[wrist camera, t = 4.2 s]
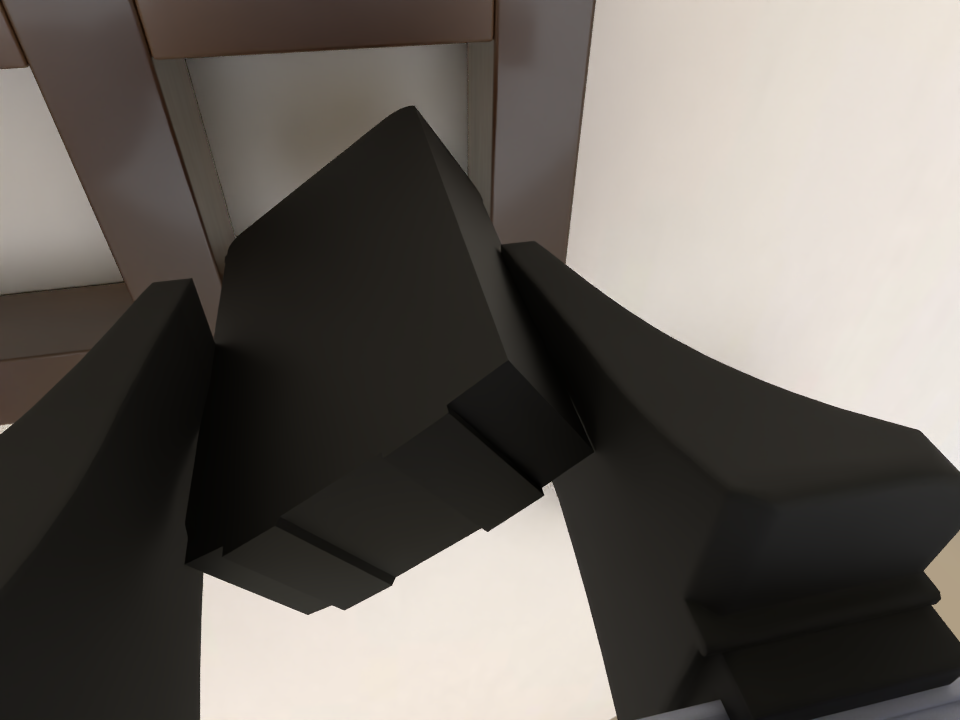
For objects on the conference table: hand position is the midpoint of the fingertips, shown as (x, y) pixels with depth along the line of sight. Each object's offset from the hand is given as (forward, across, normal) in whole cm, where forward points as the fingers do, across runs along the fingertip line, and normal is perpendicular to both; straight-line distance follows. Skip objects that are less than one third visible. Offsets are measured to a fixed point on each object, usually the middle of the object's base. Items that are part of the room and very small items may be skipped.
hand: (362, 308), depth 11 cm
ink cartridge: (+4, 0, 0) cm, 4 cm away
